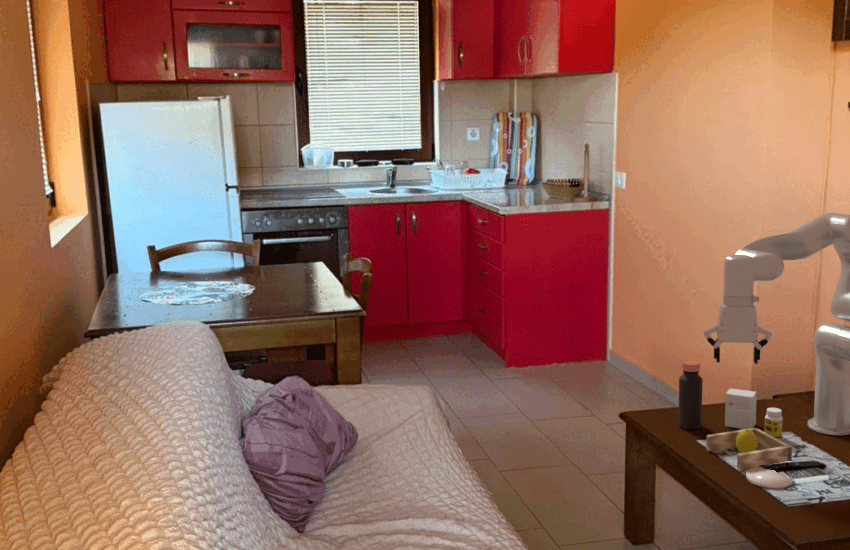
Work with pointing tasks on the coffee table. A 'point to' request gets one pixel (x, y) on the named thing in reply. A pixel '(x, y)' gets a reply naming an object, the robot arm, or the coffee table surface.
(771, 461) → the pine box
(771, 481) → the saucer
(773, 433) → the supplement bottle
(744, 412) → the small box
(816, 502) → the coffee table surface
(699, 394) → the vinegar
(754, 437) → the lemon
